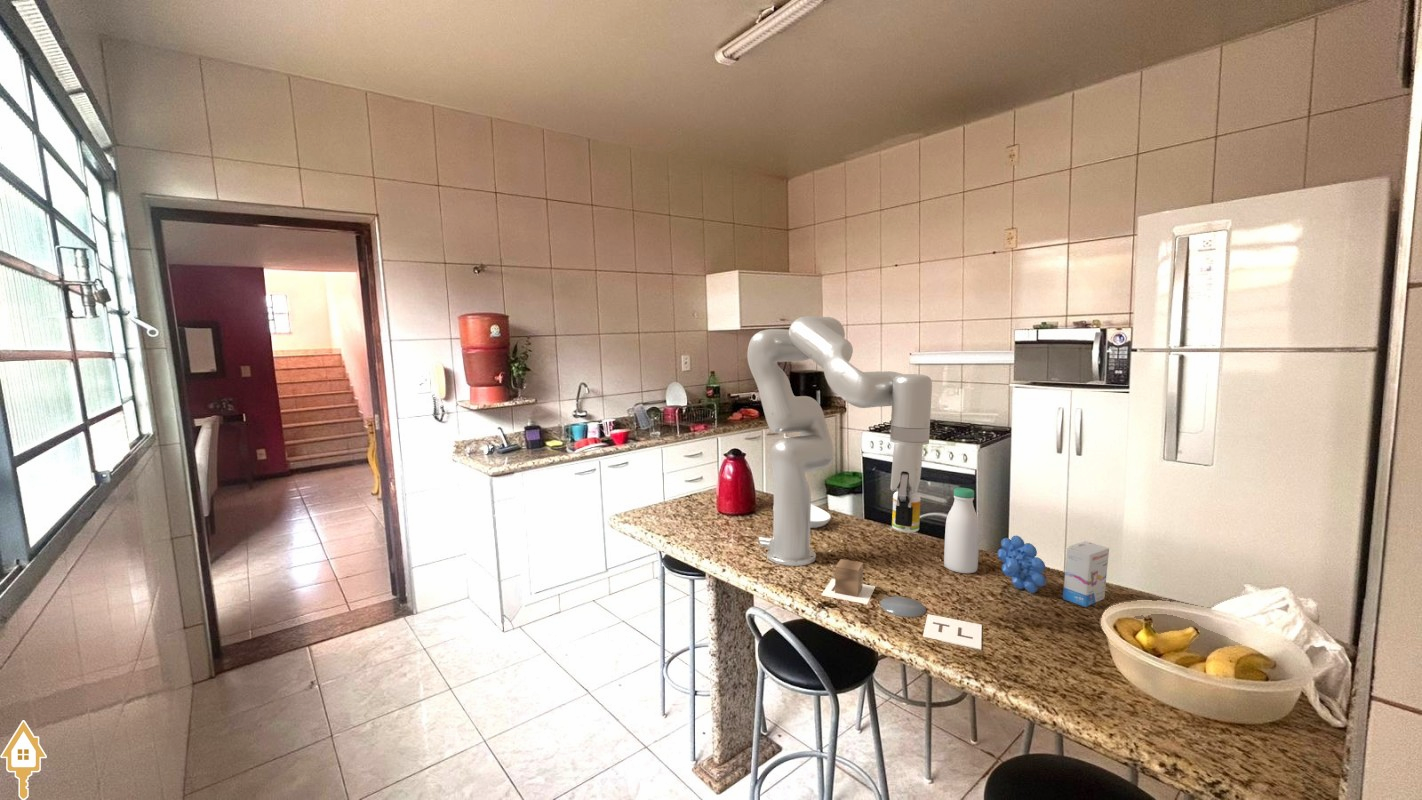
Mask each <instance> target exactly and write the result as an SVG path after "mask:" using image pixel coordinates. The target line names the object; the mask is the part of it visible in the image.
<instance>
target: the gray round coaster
mask: <svg viewBox="0 0 1422 800" xmlns="http://www.w3.org/2000/svg"><path fill="white" fill-rule="evenodd" d="M880 607H881V608H882V609H883V610H884V611H885V612H887V613H889V614H891V615H894V616H897V617H900V618H901V617H902V618H918V617H922V616H923V615H925V613H926V611H927V610H926V606H925V605H924V604H923V602H920V601H919V600H916V599H913V598H911V597H910V598H909V597H906V596H901V595H900V596H896V595H895V596H894V595H893V596H887V597H884V598H882V599H881V600H880Z"/></svg>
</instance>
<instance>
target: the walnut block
mask: <svg viewBox="0 0 1422 800" xmlns="http://www.w3.org/2000/svg"><path fill="white" fill-rule="evenodd" d="M863 573H864V563H863V562H862V561H861V562H860V561H856V560H849V559H842V558H840V560H839V561H838V562H837V564H836V566H835V574H834V575H835V578H834V579H835V593H839V594H844V595H849V596H854V597H858V596H859V594H860V592H861V590H862V584H863V575H864V574H863Z"/></svg>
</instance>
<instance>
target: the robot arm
mask: <svg viewBox="0 0 1422 800" xmlns="http://www.w3.org/2000/svg"><path fill="white" fill-rule="evenodd" d="M845 332H846V331H845V329H844V326H843V324H842V322H840V321H839V320H838V319H837V318H835V317H830V316H818V315H817V316H816V315H806V316H801V317H798V318H796V319H795V320H794V321H792V323H791V324H790V326H789V328H788V329H781V328H770V329H764V330H760V331H758V332H756V333H755V334H754V335H753V336H752V337H751V338H750V341H749V343H748V348H747V364H748V366H749V367H748V368H749V369H750V372H751V374H752V376H753V379H754V381H755V384H756V387H757V389H758V395H759V398H760V401H761V402H760V403H761V407H762V409H763V413H764V416H765V417H764V418H765V420H766V424H767V427H768V429H769V430H770V431H771V432H773V433H774V434H792V433H799V436H789V437H785V438H782V439H779V440H777V441H776V442H775V443H774V444H773V445H772V447H771V449H770V451H769V453H770V454H769V458H770V459H769V460H770V461H769V462H770V466H771V471H772V480H773V481H772V483H773V506H774V511H773V524H772V526H773V527H772V528H773V529H772V530H773V531H772V533H773V534H772V536H771V537H767V536H761V535H760V536H759V537H758V544H759V546H760V547H763V548H765V547H766V548H767V552H766V556H767V558H768V559H769V560H770V561H771V562H773V563H775V564H778V565H782V566H786V567H787V566H788V567H800V566H807V565H810V564H812V563H814V562H815V561H816V559H817V555H816V552H815V551H814V550H812V548H811V528H810V514H811V504H812V499H811V498H812V495H811V494H812V493H811V488H810V484H809V482H808V481H807V478H806V476H805V475H806V474H807V473H812V472H819V471H823V470H825V469H827V468H829V467H830V466H831V464H832V463H833V460H834V446H833V442H832V439H831V435H830V431H829V428H828V424H827V421H826V418H825V413H824V411H823V408H822V406H821V405H820V404H819V402H818V401H817V400H816V399H815V398H813V397H811V396H807V395H800V396H796V395H794V393H793V390H792V387H791V383H790V380H789V377H788V376H787V374H786V372H785V371H784V370H783V369H782V368H781V367H780V366H779V364H778V362H781V363H782V362H786V363H787V362H788V363H789V362H790V363H791V362H804V361H808V360H812V361H813V362H814V363H815V364H817V365H818V366H819V367H821V368H822V369H823V372H824V373H823V374H824V378H825V380H826V382H827V385H828V387H829V389H831V391H833V392H834V393H835V394H836V395H837V396H839V397H840V398H841V399H842V400H844V401H845V402H846V403H848V404H850V405H852V406H854V407H856V408H860V409H870V408H877V407H891V413H890V414H891V415H890V417H891V418H890V420H891V421H890V434H889V435H890V436H889V441H890V442H891V443H894V446H893V455H892V465H891V476H890V488H889V489H890V490H891V492H895V491H898V495H897V505H896V516H895V524H896V525H901V526H908V527H911V526H912V516H913V507H911V506H912V494H913V493H914V492H916V493H917V491H918V489H919V485H920V482H921V476H922V475H921V474H922V466H923V465H922V464H923V463H922V462H923V448H924V446H926V445H929V444H930V434H931V433H930V432H931V428H930V427H931V413H932V411H931V410H932V392H933V381H932V379H931V377H930V376H928V375H924V374H917V373H915V374H912V373H911V374H909V373H901V372H896V371H887V370H886V371H885V370H884V371H882V370H881V371H879V370H877V371H862V370H861V369H859V368H857V367H856V366H854V365H853V364H852V363H851V362H850V361H851V358H852V356H853V351H854V349H853V348H854V347H853V345H852V343H851V341H849V340H848V339H846V336H845V335H846V333H845ZM897 487H898V489H897ZM910 487H911V488H910ZM917 488H918V489H917ZM907 489H910V492H909V491H907ZM916 490H917V491H916ZM907 495H909V498H908V496H907ZM908 499H909V500H908Z"/></svg>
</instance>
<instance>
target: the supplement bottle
mask: <svg viewBox="0 0 1422 800" xmlns="http://www.w3.org/2000/svg"><path fill="white" fill-rule="evenodd" d="M910 488H911V487H910ZM918 489H919V487H918V488H917V490H916V492H914V493H913V494H912V506H911V507H913V516H912V526H911V527H908V526H901V525H896V524H895V516H896V505H897V495H898V487H897V489H896V491H894V493H893V495H892V515H891V517H892V518H891V527H892V529H894V530H896V531H897V532H902V533H916V532H918V531H919V530H920V521H921V520H920V518H921V517H920V516H921V495H920V494H919V493H917V492H918ZM907 491H909V492H910V489H907ZM907 496H908V498H909V495H907ZM908 500H909V499H908Z"/></svg>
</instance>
